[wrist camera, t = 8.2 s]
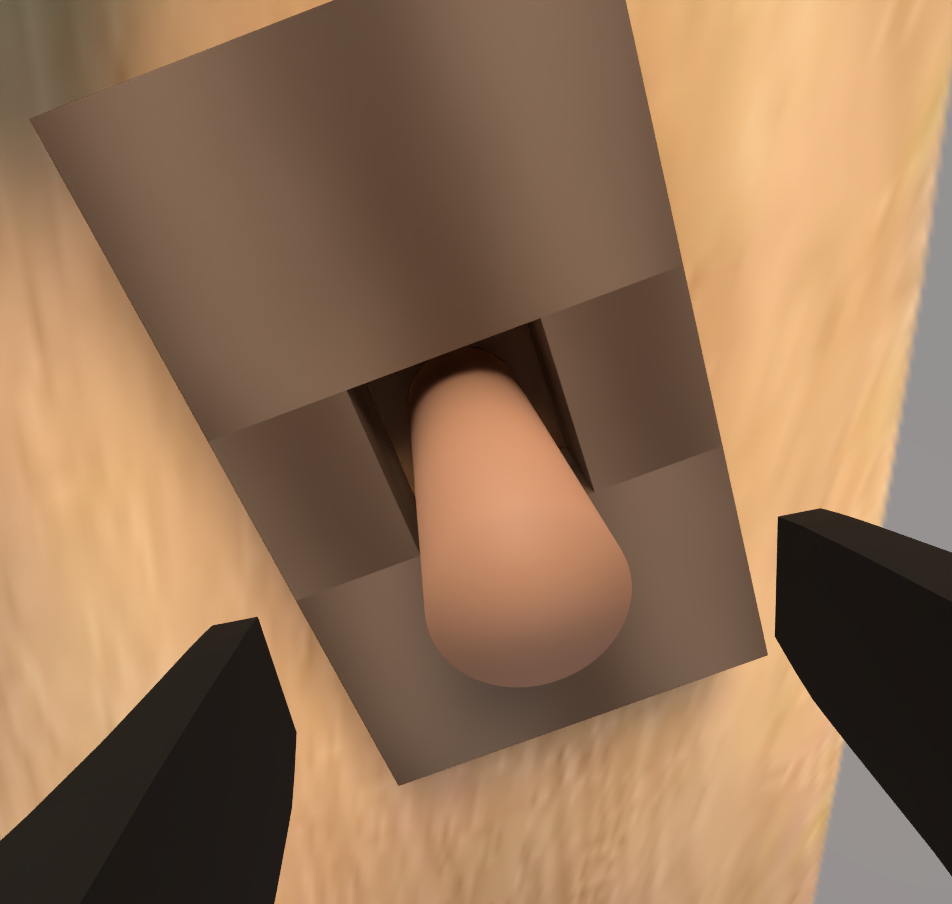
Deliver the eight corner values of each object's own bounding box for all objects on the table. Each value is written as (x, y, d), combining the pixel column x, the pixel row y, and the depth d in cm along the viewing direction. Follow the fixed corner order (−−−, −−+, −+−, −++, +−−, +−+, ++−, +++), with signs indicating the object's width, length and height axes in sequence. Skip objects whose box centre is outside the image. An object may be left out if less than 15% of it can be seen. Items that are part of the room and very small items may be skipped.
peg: (418, 462, 19) (442, 703, 10) (399, 357, 18) (407, 529, 9) (524, 444, 19) (636, 666, 10) (512, 338, 18) (626, 491, 9)
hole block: (397, 709, 22) (398, 785, 20) (95, 128, 15) (29, 118, 12) (720, 594, 22) (767, 655, 19) (564, -54, 15) (602, -105, 12)
